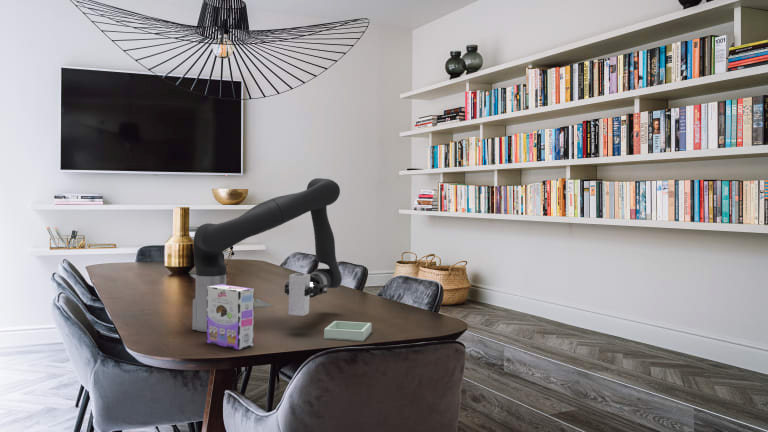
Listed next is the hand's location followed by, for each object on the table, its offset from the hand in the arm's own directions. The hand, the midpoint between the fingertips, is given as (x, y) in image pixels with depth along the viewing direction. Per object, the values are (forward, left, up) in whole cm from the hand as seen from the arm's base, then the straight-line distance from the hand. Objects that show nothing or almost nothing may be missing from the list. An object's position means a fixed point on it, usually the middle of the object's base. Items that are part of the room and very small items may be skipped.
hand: (296, 292), depth 174 cm
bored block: (0, +3, -7) cm, 8 cm away
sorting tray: (+15, +5, -13) cm, 21 cm away
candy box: (-15, -14, -14) cm, 25 cm away
